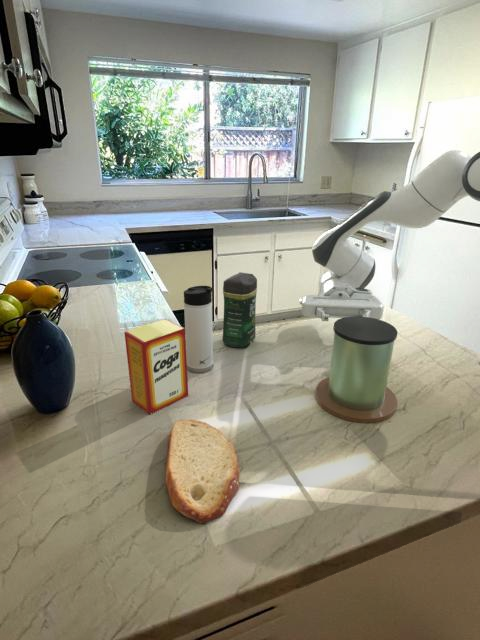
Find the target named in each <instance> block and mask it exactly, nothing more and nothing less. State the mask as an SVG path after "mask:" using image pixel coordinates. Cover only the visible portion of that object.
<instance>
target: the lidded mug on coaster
mask: <svg viewBox="0 0 480 640" xmlns="http://www.w3.org/2000/svg"><path fill="white" fill-rule="evenodd" d="M332 327H333V328H332V329H333V332H334V333H333V340H332V341H333V342H332V351H331V359H330V360H331V361H330V369H329V376H328V377H325V378H323V379H321V380H320V381H319V382H318V383H317V385H316V386H315V391H314V392H315V393H314V394H315V396H314V397H315V400H316V401H317V403H318V405H319V406H320V407H321V409H323V410H324V411H326V412H327V413H329V414H331V415H332V416H334V417H336V418H339V419H342V420H345V421H348V422H353V423H362V424H372V423H373V424H374V423H380V422H383V421H386V420H388V419H389V418H391V417H393V415H394V414H395V413H396V411H397V408H398V399H397V396H396V394H395V393H394V392H393V390H392V389H390V388H389V387H388V386H387V385H388V379H389V374H390V369H391V362H392V357H393V351H394V346H395V341H396V340H397V338H398V330H397V328H396V327H395V326H394V325H392V324H391V323H389V322H387V321H384V320H382V319H375V318H370V317H360V316H352V317H345V318H337V320H335V321H334V323H333V326H332Z"/></svg>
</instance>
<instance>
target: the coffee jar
mask: <svg viewBox="0 0 480 640" xmlns="http://www.w3.org/2000/svg"><path fill="white" fill-rule="evenodd" d="M257 292H258V278H257V277H256V276H255V275H254V274H253V273H248V272H240V271H239V272H238V273H236V274H234V275H231V276H229V277H228V278H226V279H225V280H223V286H222V294H223V325H222V343H223V344H224V345H227V346H229V347H231V348H235V349H236V348H246V347H248V346H249V345H251V342H254V340H255V339H256V307H257V306H256V304H257Z"/></svg>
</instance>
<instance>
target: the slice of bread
mask: <svg viewBox="0 0 480 640" xmlns="http://www.w3.org/2000/svg"><path fill="white" fill-rule="evenodd" d="M167 450H168V451H167V457H166V463H165V464H166V465H165V486H166V489H167V491H168V497H169V499H170V503H171V504H172V506H173V507H174V509H175V510H177V511H178V512H179V514H181V515H183V516H184V517H186V518H188V519H191V520H192V521H193V520H194V521H195V522H197V523H198V524H207V523H209V522H211V521H214V520H216V519H219V518H220V517H222V516H224V514H225V513H226V512H227V509H228V507H229V506H230V504H231V503H232V501H233V499H234V497H235V496H236V495H237V493H238V491H239V488H240V468H239V464H238V463H239V461H238V455H237V452H236V449H235V448H234V445H233V444H232V443H231V442H229V441H228V440H227V439H226V438H225V437H224V435H223V433H222V432H221V431H220V430H218V429H217V428H216V427H214V426H212V425H210V424H208V423H207V422H204V421H201V420H196V419H180V420H178V421H176V422H175V423H174V424H173V426H172V428H171V431H170V434H169V439H168V445H167Z"/></svg>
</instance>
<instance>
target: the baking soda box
mask: <svg viewBox="0 0 480 640" xmlns="http://www.w3.org/2000/svg"><path fill="white" fill-rule="evenodd" d="M123 332H124V341H125V349H126V359H127V368H128V377H129V387H130V396H131V402H133V403H134V402H135V403H136V404H135V403H134V404H135V405H137V406H138V405H139V406H140V407H139V406H138V407H139V408H140V409H142V410H143V409H144V410H145V411H144V410H143V411H144V412H145V413H147V414H148V413H149V414H148V415H152V414H154V413H156V412H158V411H160V410H162V408H163V409H164V407H165V408H166V406H167V407H168V406H171V405H173V404H174V403H177V402H179V401H181V400H183V399H185V398H187V397H189V383H188V368H187V355H186V335H185V326H181V325H179V324H177V323H175V322H173V321H172V320H170V319H167V318H164V319H159V320H157V321H154V322H151V323H148V324H147V323H145V324H141V325H140V326H137V327H134V328H132V329H129V330H126V331H123ZM159 409H160V410H159ZM157 410H158V411H157ZM155 411H156V412H155ZM153 412H154V413H153ZM151 413H152V414H151Z"/></svg>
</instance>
